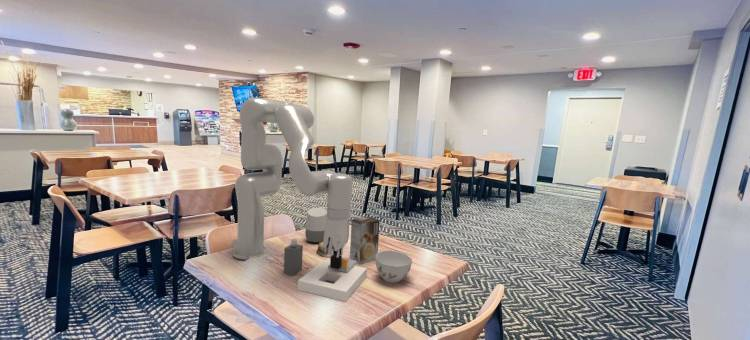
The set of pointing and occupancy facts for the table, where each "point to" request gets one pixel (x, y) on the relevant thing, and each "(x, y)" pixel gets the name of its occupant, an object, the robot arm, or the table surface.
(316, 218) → the smart speaker
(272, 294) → the table surface
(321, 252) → the cake
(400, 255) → the white bowl
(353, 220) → the coffee box
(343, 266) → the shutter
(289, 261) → the plug
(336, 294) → the socket board
